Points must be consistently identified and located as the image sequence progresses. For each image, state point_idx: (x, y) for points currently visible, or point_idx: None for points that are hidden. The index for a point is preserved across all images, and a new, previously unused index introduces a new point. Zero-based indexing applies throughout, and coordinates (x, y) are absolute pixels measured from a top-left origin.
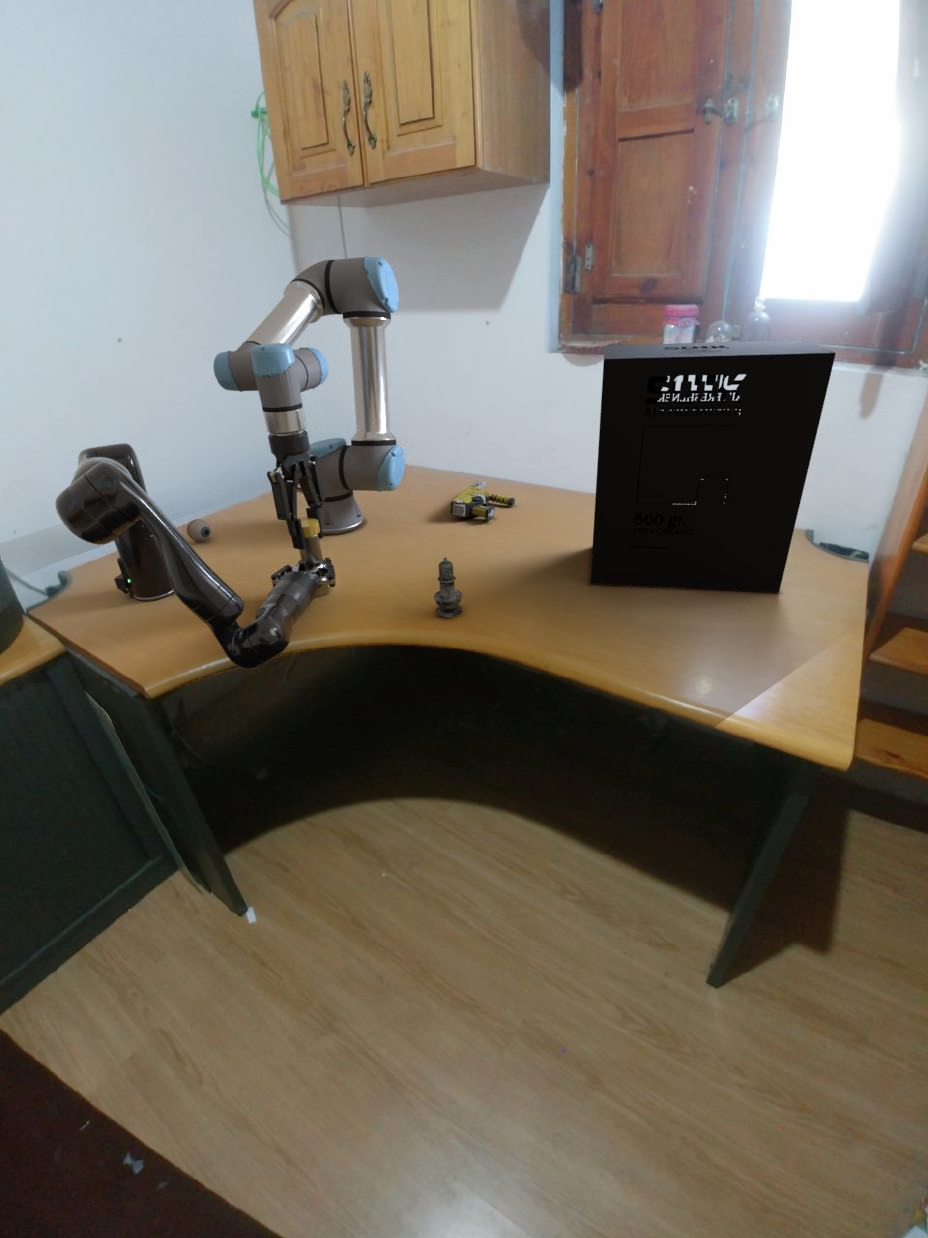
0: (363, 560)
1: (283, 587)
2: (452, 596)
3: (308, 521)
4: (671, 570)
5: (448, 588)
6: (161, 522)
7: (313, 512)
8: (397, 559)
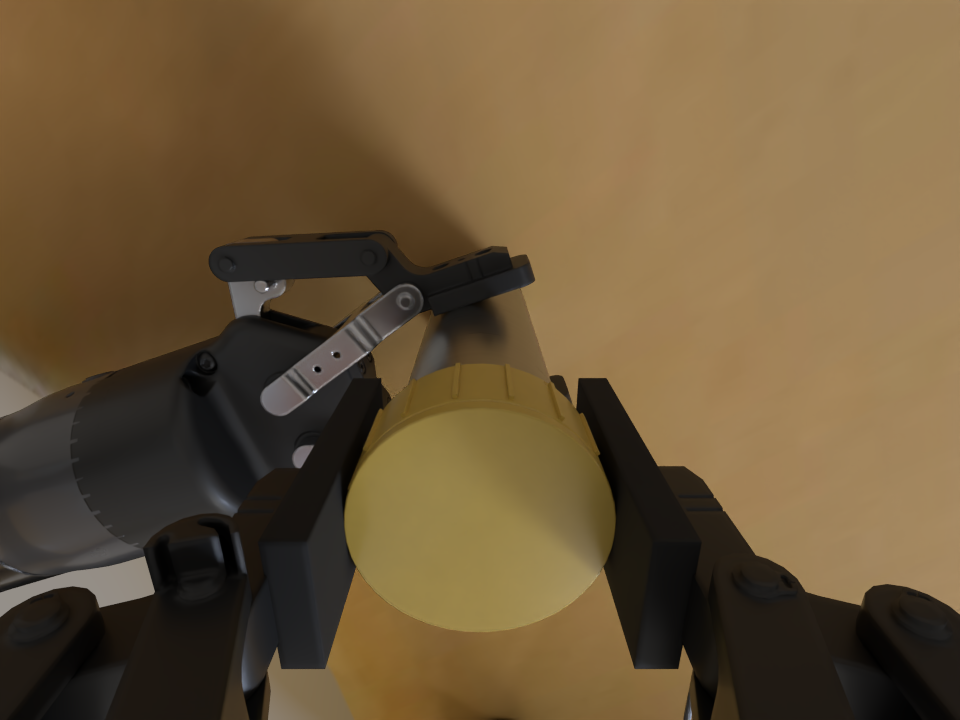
0: (839, 320)
1: (25, 542)
2: None
3: (514, 547)
4: None
5: None
6: None
7: (628, 605)
8: (861, 457)
